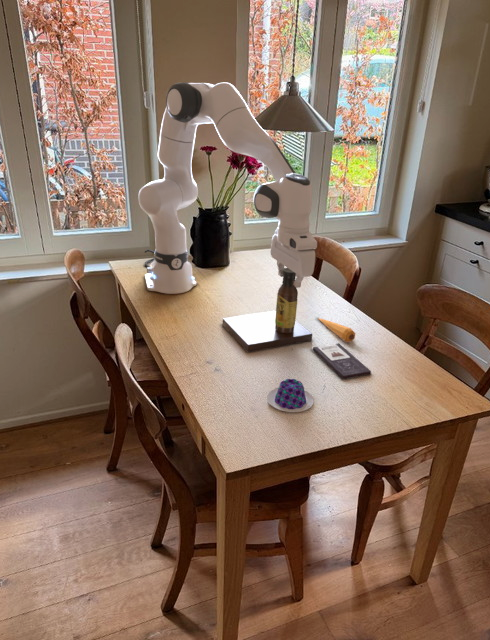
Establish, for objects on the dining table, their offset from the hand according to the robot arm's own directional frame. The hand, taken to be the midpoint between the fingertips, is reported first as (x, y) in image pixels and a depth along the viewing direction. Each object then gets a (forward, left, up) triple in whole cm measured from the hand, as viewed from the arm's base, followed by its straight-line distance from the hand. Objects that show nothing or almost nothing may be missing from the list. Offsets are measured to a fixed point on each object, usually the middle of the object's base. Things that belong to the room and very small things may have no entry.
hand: (289, 281), depth 159 cm
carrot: (+1, +18, -19) cm, 26 cm away
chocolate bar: (+20, +8, -19) cm, 29 cm away
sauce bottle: (0, 0, -16) cm, 16 cm away
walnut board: (-5, -4, -19) cm, 20 cm away
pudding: (+33, -16, -19) cm, 41 cm away
